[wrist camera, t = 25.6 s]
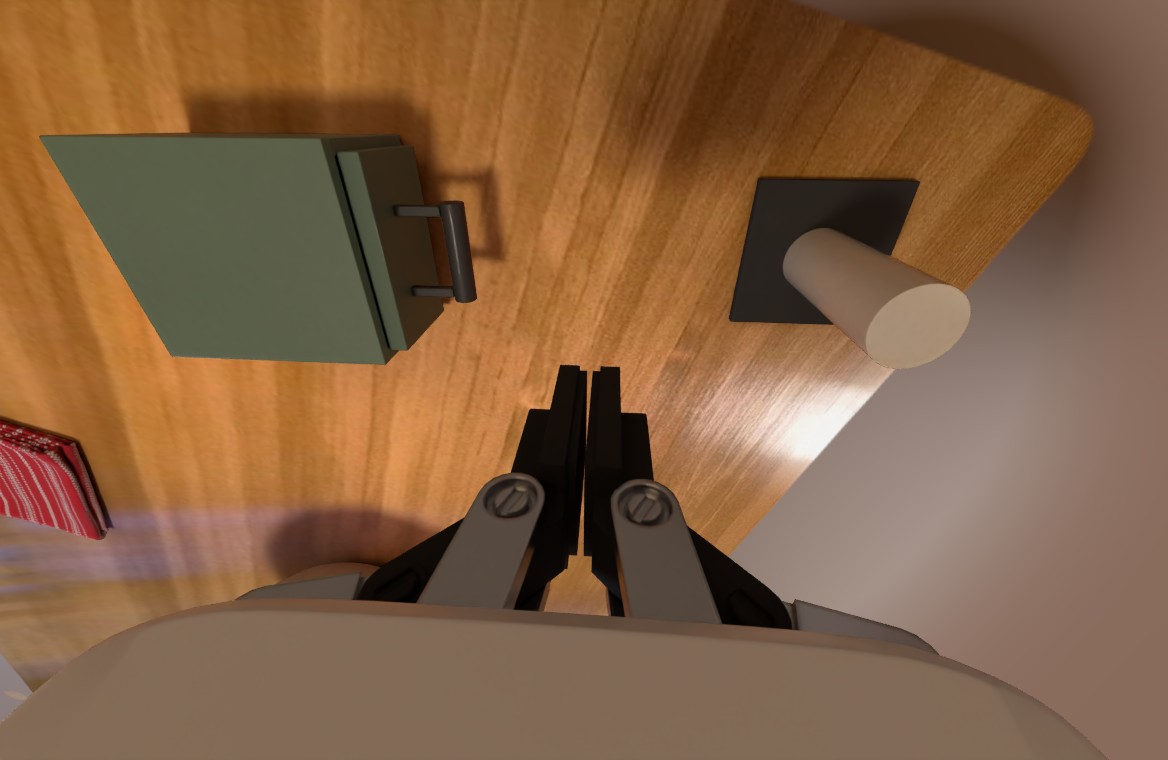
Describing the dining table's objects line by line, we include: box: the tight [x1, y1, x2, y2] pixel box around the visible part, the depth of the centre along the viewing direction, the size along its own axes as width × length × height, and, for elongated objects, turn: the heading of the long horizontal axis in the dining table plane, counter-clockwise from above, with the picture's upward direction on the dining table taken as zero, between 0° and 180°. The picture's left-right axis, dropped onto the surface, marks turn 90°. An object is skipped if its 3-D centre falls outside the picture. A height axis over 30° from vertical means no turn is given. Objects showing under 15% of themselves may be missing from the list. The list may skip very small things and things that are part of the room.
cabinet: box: [39, 133, 401, 365], centre depth 27 cm, size 15×13×9 cm
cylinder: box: [783, 228, 971, 369], centre depth 24 cm, size 4×4×12 cm
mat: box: [729, 178, 920, 325], centre depth 29 cm, size 10×10×1 cm
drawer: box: [335, 146, 477, 351], centre depth 27 cm, size 18×11×7 cm, turn 90°
